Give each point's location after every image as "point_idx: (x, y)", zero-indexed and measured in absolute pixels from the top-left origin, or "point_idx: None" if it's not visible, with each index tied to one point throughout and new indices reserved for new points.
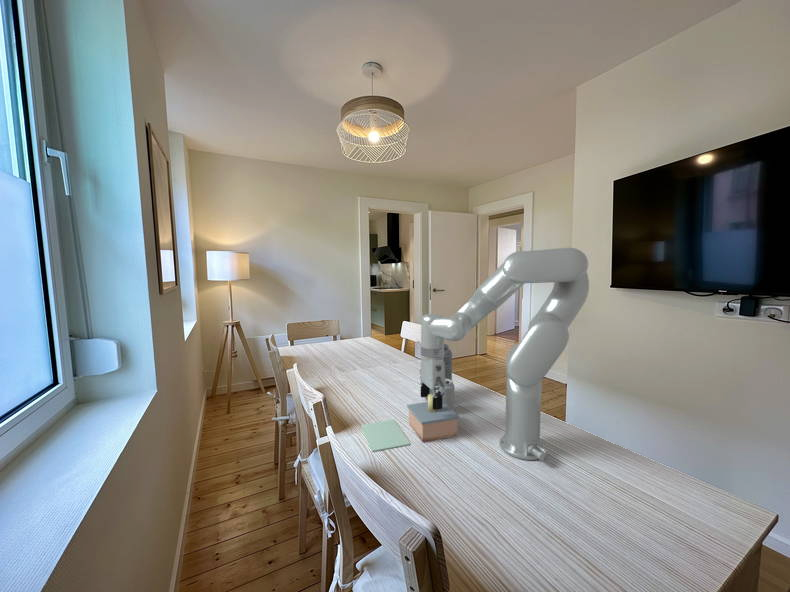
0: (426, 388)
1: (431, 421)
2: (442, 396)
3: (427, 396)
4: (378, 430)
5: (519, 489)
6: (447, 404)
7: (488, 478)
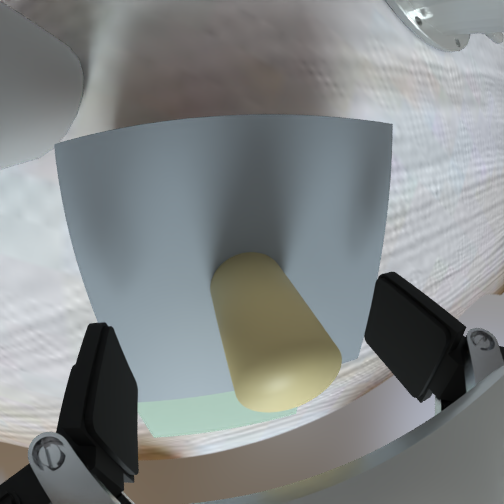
0: (113, 426)
1: (366, 314)
2: (485, 340)
3: (117, 341)
4: (194, 411)
5: (501, 139)
6: (58, 81)
7: (478, 174)
